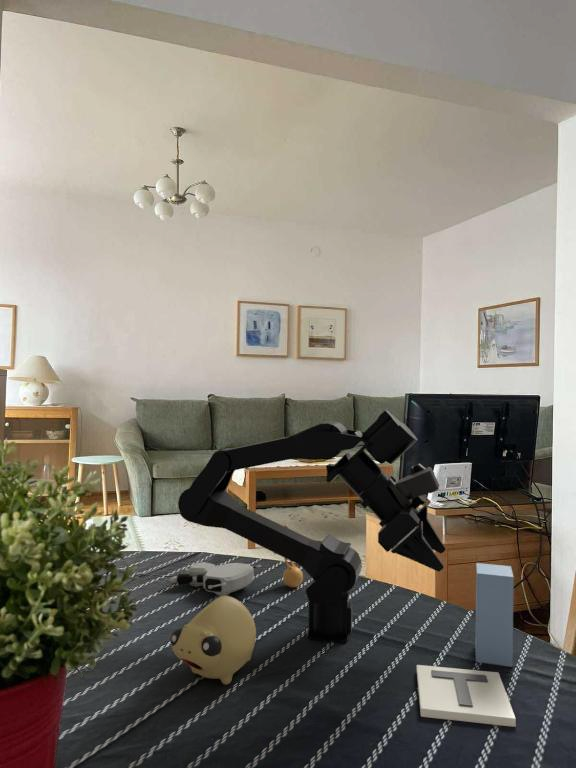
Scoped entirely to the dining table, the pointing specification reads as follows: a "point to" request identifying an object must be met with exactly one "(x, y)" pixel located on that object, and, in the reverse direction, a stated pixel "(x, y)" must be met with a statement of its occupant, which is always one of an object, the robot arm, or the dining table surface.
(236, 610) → the beige rounded figure
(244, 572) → the robot toy
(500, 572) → the slate post
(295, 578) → the figurine
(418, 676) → the letter card
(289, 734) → the dining table surface
